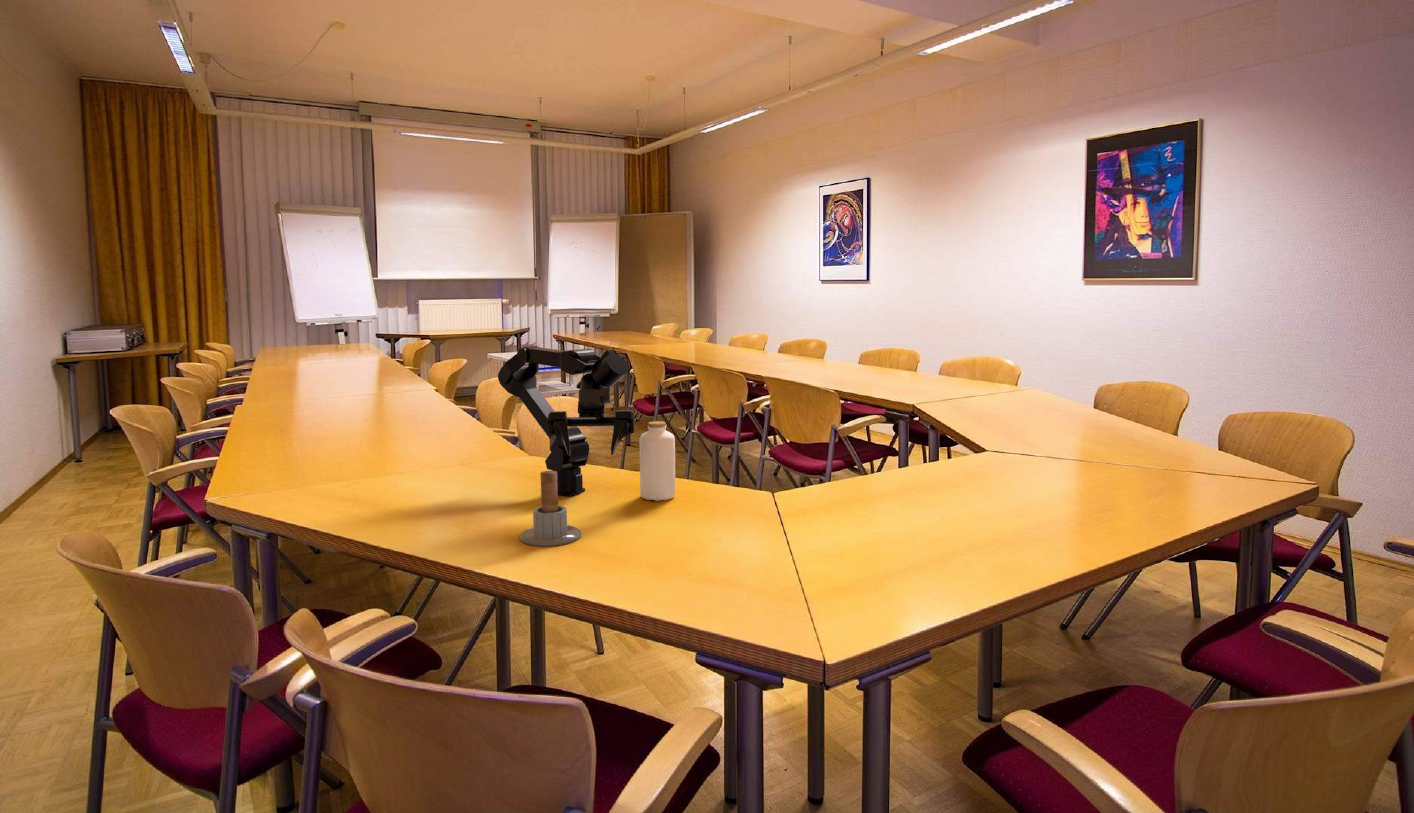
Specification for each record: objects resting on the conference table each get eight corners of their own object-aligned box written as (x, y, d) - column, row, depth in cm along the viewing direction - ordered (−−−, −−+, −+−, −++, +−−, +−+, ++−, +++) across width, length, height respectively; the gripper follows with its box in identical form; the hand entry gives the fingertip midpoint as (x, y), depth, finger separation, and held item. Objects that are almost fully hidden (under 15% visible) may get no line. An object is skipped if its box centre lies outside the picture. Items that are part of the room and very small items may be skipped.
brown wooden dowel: (540, 533, 155) (537, 472, 153) (555, 530, 157) (553, 469, 155) (546, 537, 152) (544, 475, 150) (561, 534, 154) (559, 472, 152)
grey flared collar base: (507, 540, 152) (505, 513, 151) (546, 524, 163) (545, 498, 162) (556, 550, 147) (555, 521, 146) (593, 532, 157) (592, 505, 156)
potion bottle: (633, 499, 182) (632, 423, 179) (652, 491, 189) (651, 418, 186) (663, 503, 178) (663, 426, 175) (681, 495, 185) (681, 421, 183)
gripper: (547, 375, 169) (542, 434, 160) (632, 374, 170) (633, 432, 161) (552, 405, 178) (548, 463, 169) (634, 404, 179) (634, 461, 170)
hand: (590, 454), depth 167 cm, fingers open, 9 cm apart
